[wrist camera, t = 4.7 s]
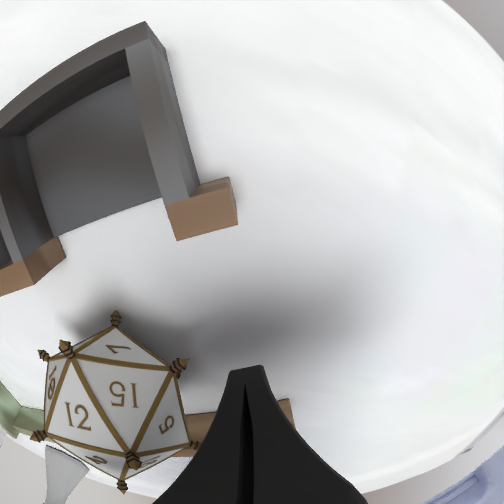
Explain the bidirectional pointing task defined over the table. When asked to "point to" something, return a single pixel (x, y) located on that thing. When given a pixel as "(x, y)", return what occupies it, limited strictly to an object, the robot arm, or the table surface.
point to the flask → (61, 475)
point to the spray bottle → (2, 435)
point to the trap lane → (97, 171)
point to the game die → (114, 404)
